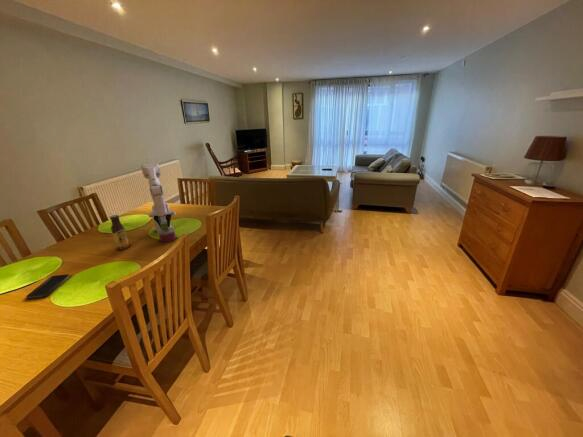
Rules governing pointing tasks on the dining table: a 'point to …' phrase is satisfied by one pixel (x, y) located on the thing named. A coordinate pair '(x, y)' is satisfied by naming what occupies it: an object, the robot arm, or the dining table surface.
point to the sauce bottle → (119, 233)
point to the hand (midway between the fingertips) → (165, 226)
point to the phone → (48, 286)
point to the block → (164, 226)
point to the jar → (167, 235)
